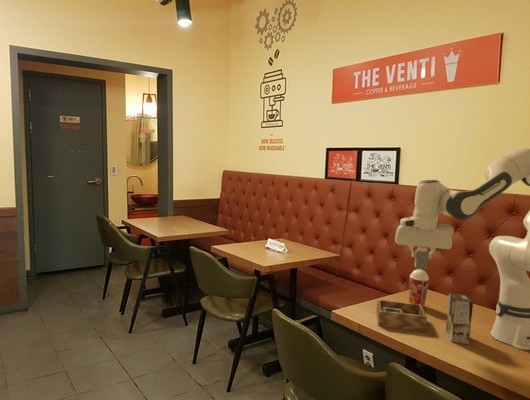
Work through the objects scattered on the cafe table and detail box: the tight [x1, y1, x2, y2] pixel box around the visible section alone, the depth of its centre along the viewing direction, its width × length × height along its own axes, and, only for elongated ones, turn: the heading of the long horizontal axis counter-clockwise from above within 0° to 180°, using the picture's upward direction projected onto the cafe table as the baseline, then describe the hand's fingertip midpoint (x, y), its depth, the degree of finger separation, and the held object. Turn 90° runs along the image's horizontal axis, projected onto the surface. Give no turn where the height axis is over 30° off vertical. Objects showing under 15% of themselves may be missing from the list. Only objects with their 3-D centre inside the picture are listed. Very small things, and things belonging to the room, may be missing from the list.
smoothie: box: [408, 268, 430, 308], centre depth 183 cm, size 8×8×20 cm
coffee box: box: [445, 292, 474, 345], centre depth 151 cm, size 9×6×16 cm
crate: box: [375, 299, 428, 332], centre depth 164 cm, size 18×14×6 cm
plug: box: [413, 246, 430, 270], centre depth 152 cm, size 4×4×8 cm
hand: (421, 258), depth 152 cm, fingers closed on plug, 4 cm apart
